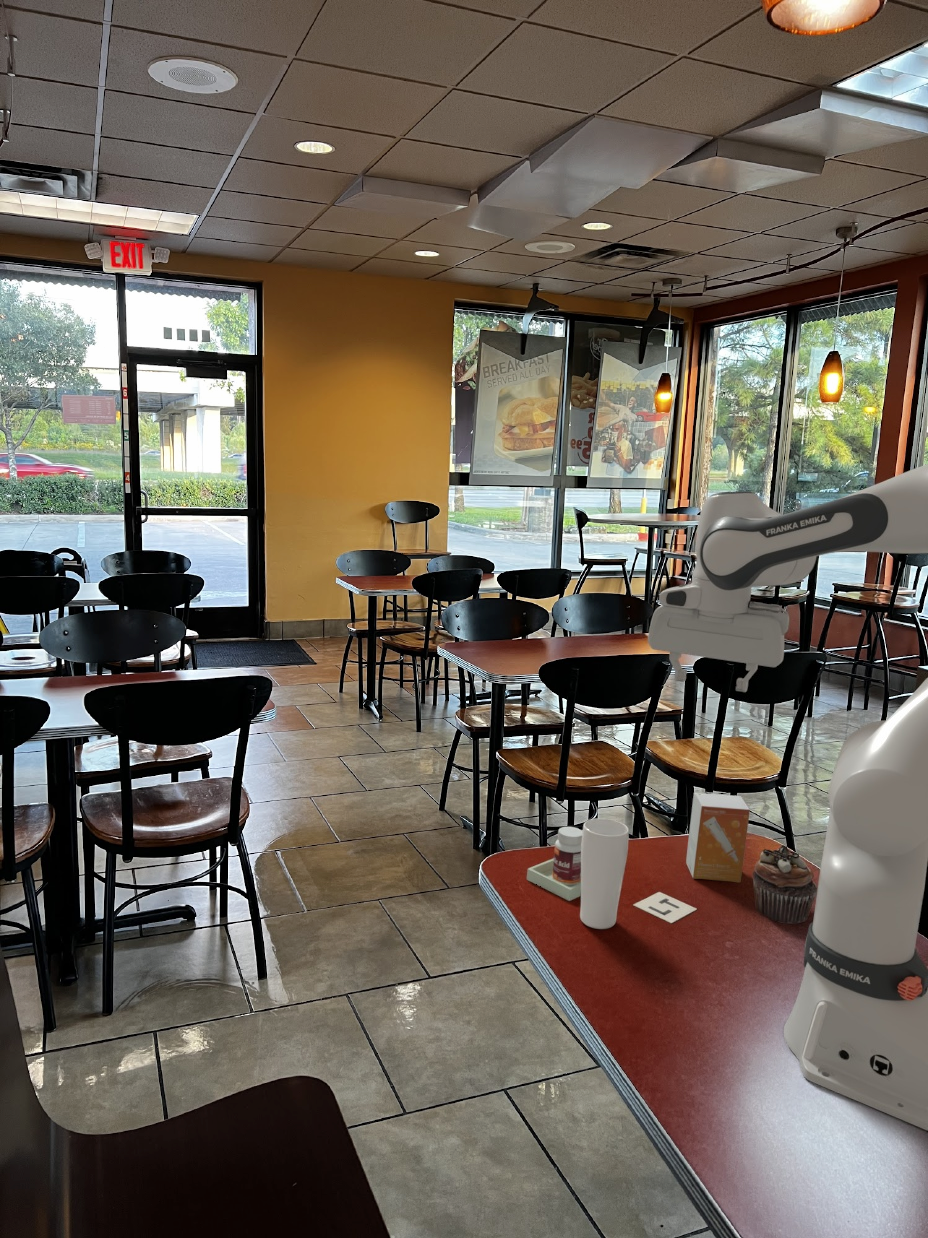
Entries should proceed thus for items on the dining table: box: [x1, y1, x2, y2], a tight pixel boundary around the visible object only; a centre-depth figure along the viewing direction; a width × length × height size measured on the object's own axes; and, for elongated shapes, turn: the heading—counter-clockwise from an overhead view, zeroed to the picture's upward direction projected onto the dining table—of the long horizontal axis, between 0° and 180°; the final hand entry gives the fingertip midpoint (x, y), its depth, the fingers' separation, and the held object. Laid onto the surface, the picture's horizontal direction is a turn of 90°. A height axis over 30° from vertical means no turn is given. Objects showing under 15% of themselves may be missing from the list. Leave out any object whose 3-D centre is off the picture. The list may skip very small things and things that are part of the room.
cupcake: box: [752, 844, 818, 925], centre depth 142 cm, size 10×10×10 cm
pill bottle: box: [552, 826, 583, 886], centre depth 148 cm, size 5×5×8 cm
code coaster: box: [632, 891, 698, 924], centre depth 142 cm, size 7×7×1 cm
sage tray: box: [526, 857, 581, 902], centre depth 148 cm, size 9×9×2 cm
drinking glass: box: [579, 817, 630, 930], centre depth 135 cm, size 7×7×15 cm
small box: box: [685, 792, 751, 883], centre depth 154 cm, size 8×6×13 cm
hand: (710, 685), depth 142 cm, fingers open, 8 cm apart
